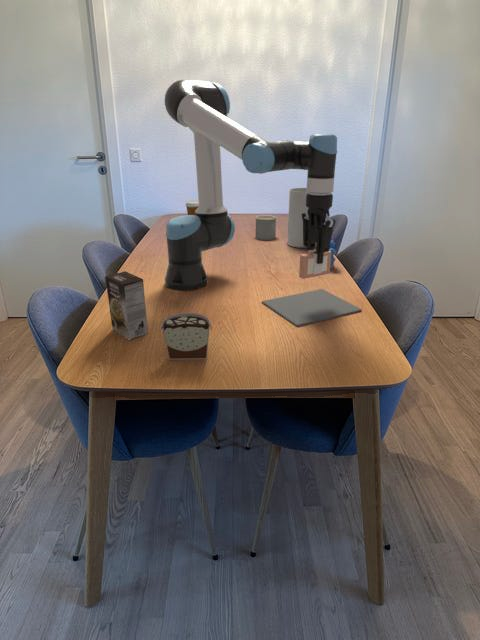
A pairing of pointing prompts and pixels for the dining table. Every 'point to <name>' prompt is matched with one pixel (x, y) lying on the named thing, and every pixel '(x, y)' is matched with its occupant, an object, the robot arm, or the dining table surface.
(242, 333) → the dining table surface
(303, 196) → the cylinder vase
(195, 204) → the disposable coffee cup
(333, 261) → the blue lumpy piece
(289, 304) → the mat
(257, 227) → the coffee mug
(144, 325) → the coffee box
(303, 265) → the pink picture frame
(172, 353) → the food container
